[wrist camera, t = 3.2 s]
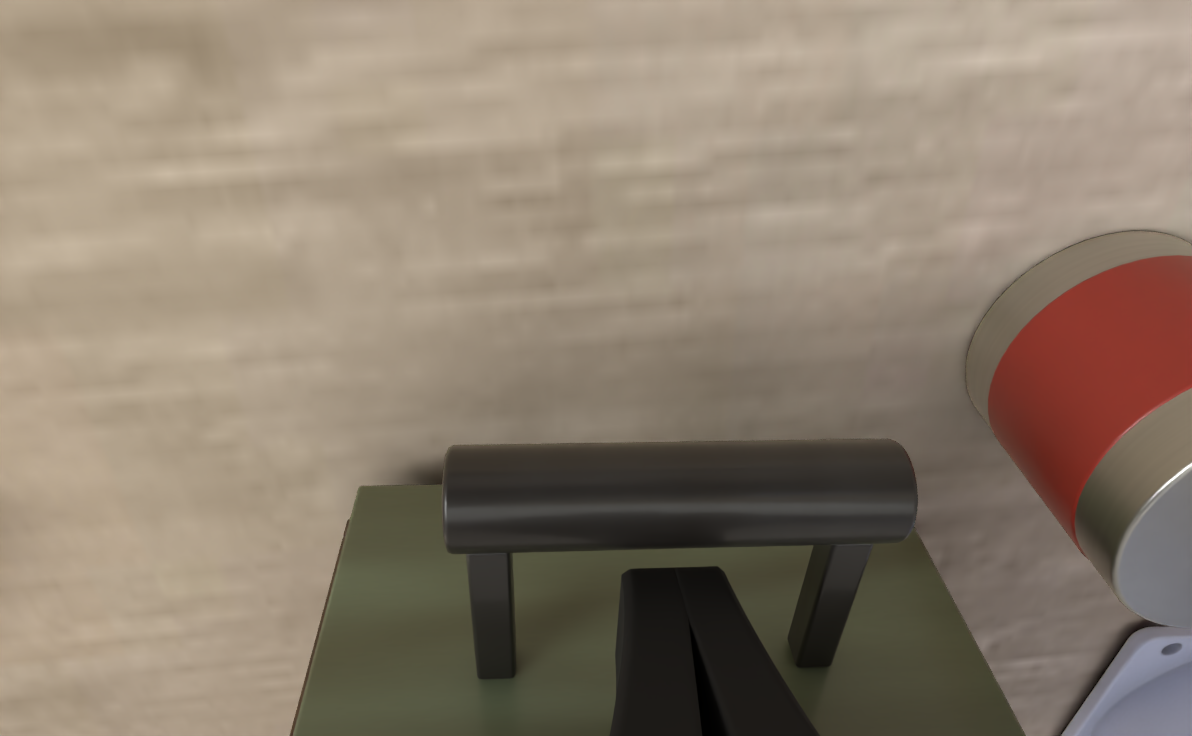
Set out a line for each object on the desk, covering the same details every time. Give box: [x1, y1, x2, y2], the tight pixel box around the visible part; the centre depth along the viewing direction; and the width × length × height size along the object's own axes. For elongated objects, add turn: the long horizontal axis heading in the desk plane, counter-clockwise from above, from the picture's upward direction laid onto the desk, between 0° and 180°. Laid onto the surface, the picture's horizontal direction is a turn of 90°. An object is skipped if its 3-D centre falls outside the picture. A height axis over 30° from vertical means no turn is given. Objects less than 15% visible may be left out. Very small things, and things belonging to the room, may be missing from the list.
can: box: [966, 231, 1192, 628], centre depth 13 cm, size 5×5×5 cm
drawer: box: [293, 439, 1026, 736], centre depth 16 cm, size 16×11×6 cm, turn 178°
